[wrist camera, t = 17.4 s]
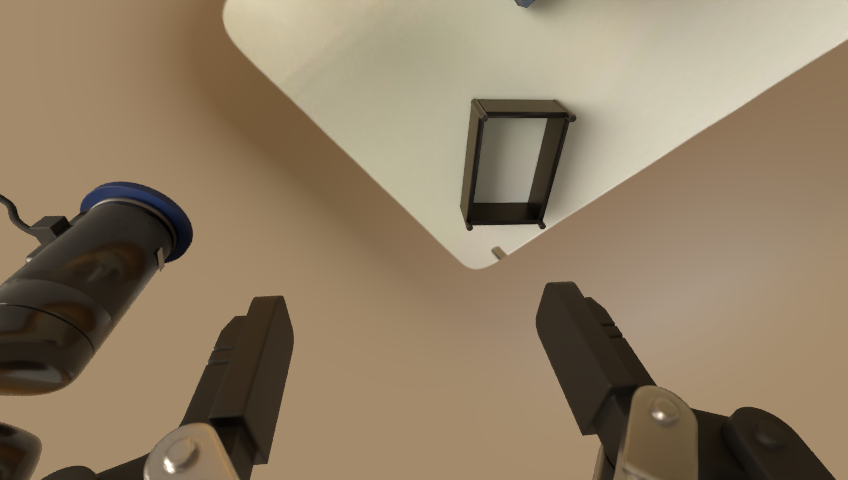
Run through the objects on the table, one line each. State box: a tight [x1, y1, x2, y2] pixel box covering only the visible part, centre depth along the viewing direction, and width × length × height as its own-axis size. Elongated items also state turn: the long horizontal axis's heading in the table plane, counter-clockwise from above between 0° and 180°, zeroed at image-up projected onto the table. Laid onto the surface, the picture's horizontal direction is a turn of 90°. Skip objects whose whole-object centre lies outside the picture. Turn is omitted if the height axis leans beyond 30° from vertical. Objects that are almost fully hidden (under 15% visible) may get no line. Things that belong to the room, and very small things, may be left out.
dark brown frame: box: [460, 99, 576, 231], centre depth 40 cm, size 9×13×5 cm
